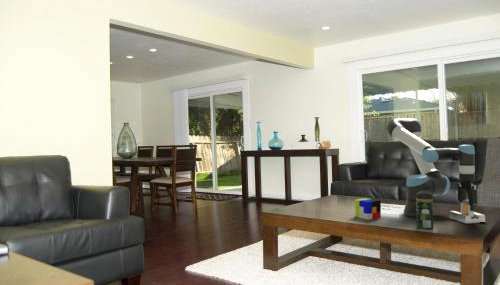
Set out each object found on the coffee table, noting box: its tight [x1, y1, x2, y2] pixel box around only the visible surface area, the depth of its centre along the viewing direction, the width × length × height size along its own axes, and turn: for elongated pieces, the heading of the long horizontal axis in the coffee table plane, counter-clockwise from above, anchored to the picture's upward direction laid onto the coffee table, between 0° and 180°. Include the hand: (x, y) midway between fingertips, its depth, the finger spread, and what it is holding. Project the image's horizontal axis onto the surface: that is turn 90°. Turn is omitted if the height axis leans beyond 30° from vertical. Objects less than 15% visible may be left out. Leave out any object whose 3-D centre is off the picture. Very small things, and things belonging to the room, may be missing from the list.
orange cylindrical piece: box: [463, 199, 469, 215], centre depth 214 cm, size 4×4×11 cm
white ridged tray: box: [448, 210, 486, 224], centre depth 215 cm, size 11×14×4 cm
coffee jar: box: [416, 191, 434, 230], centre depth 202 cm, size 10×8×19 cm
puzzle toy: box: [354, 197, 382, 221], centre depth 229 cm, size 10×10×10 cm
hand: (467, 215), depth 214 cm, fingers open, 5 cm apart
